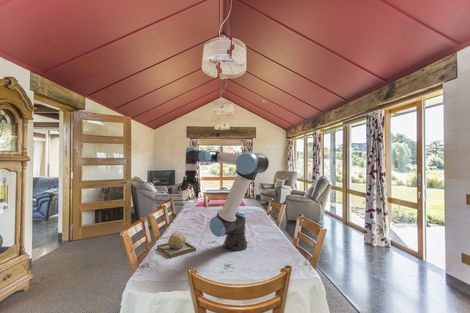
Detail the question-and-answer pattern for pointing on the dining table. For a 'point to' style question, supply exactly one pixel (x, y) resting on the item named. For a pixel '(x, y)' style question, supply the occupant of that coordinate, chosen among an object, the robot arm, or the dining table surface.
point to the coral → (176, 240)
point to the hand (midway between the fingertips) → (189, 201)
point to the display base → (176, 250)
